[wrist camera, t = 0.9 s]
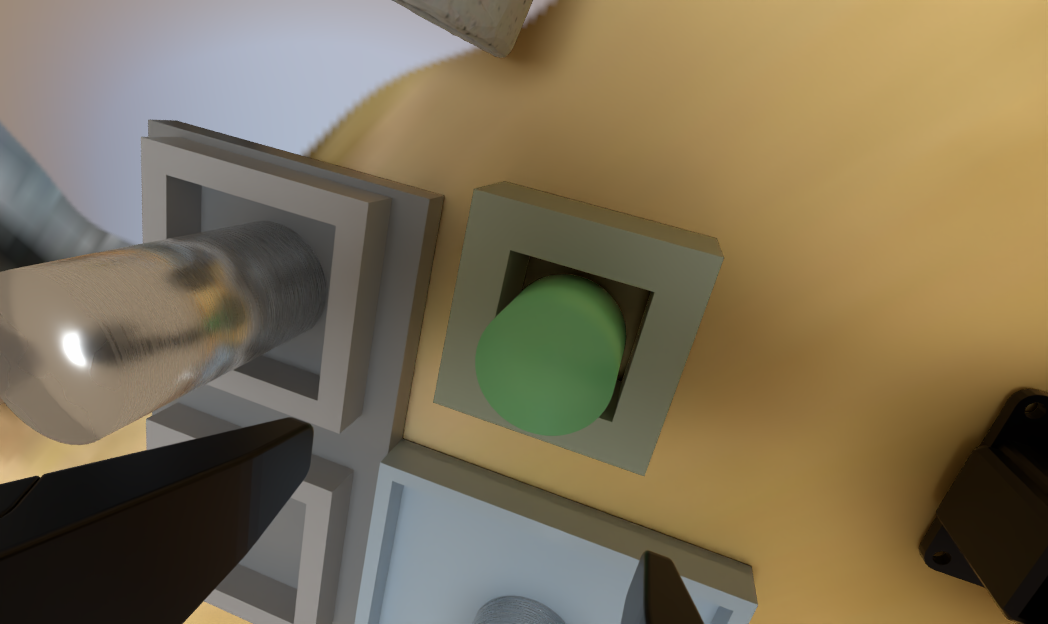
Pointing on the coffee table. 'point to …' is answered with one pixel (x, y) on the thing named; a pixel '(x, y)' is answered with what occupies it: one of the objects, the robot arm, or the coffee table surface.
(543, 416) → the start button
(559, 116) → the coffee table surface
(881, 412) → the coffee table surface
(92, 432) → the seated billet
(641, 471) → the square socket block
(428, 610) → the blue gray square tray
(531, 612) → the cylinder
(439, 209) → the grey flat frame
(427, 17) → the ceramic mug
